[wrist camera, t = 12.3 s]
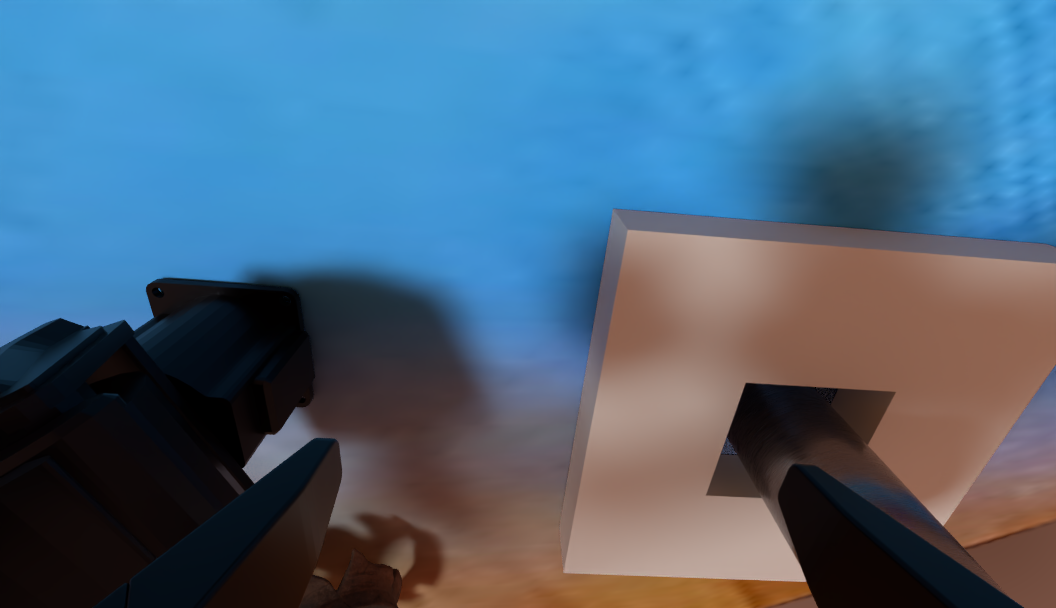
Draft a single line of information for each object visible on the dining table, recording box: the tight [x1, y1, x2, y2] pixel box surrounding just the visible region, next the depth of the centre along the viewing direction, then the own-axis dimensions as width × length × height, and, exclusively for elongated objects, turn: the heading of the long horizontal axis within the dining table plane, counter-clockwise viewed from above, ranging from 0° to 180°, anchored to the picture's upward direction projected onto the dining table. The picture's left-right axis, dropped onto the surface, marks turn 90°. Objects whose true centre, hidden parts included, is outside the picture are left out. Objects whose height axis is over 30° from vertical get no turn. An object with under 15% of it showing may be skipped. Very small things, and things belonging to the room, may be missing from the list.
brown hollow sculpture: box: [299, 549, 402, 608], centre depth 28 cm, size 12×10×8 cm
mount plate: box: [559, 209, 1056, 582], centre depth 24 cm, size 20×20×3 cm
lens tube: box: [727, 383, 1010, 598], centre depth 19 cm, size 5×5×15 cm
